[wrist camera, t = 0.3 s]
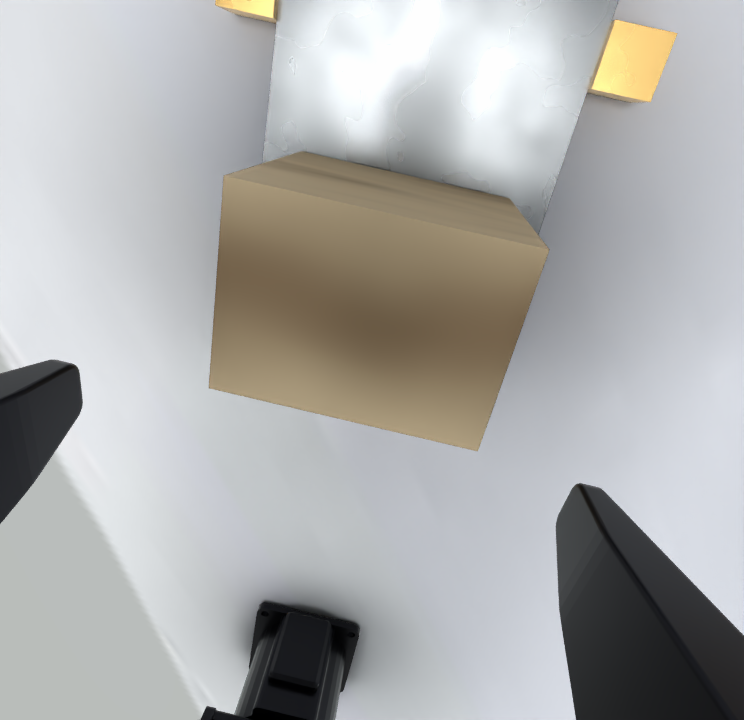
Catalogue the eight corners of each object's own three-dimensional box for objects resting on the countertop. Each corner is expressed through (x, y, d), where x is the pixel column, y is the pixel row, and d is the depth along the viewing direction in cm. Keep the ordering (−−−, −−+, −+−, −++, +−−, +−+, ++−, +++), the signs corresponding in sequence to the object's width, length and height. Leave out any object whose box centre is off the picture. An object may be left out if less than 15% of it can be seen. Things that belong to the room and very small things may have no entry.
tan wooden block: (465, 341, 22) (477, 451, 15) (282, 298, 23) (208, 387, 15) (509, 198, 20) (549, 249, 13) (301, 151, 20) (223, 175, 13)
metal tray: (525, 381, 25) (537, 421, 22) (214, 309, 25) (182, 338, 22) (776, -281, 15) (864, -384, 12) (264, -389, 15) (219, -517, 12)
